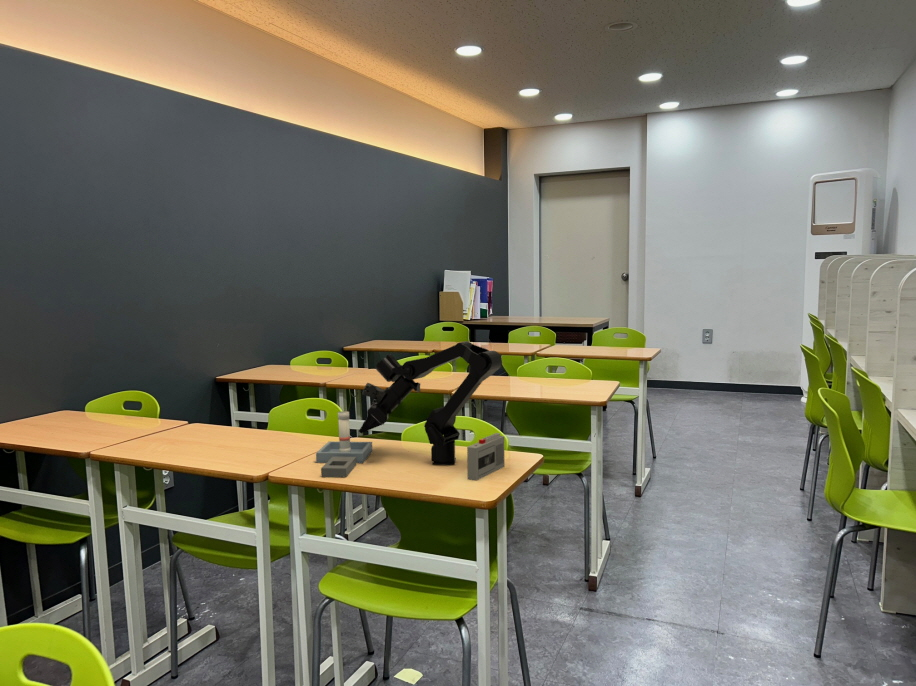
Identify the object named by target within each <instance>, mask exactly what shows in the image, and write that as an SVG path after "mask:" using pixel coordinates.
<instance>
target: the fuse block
mask: <svg viewBox="0 0 916 686" xmlns="http://www.w3.org/2000/svg"><path fill="white" fill-rule="evenodd" d="M356 466H357V463H356V457H332V458H331V459H330V460H329V461H328V462H327V463H324V464H323V466H322V467H321V468H320V472H321V475H320V477H321V478H348V476H349V475H350V473H351V472H352V471H353V470H354V469H355V468H356Z"/></svg>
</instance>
